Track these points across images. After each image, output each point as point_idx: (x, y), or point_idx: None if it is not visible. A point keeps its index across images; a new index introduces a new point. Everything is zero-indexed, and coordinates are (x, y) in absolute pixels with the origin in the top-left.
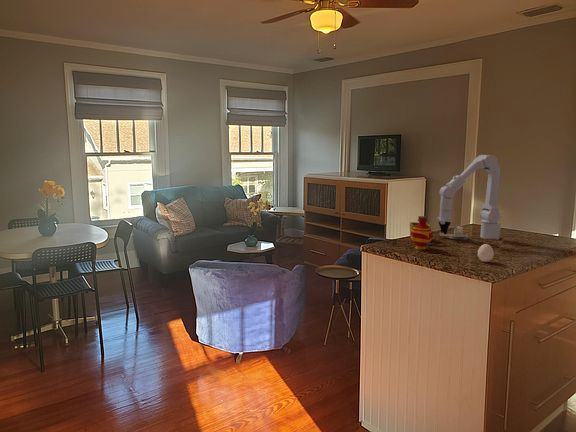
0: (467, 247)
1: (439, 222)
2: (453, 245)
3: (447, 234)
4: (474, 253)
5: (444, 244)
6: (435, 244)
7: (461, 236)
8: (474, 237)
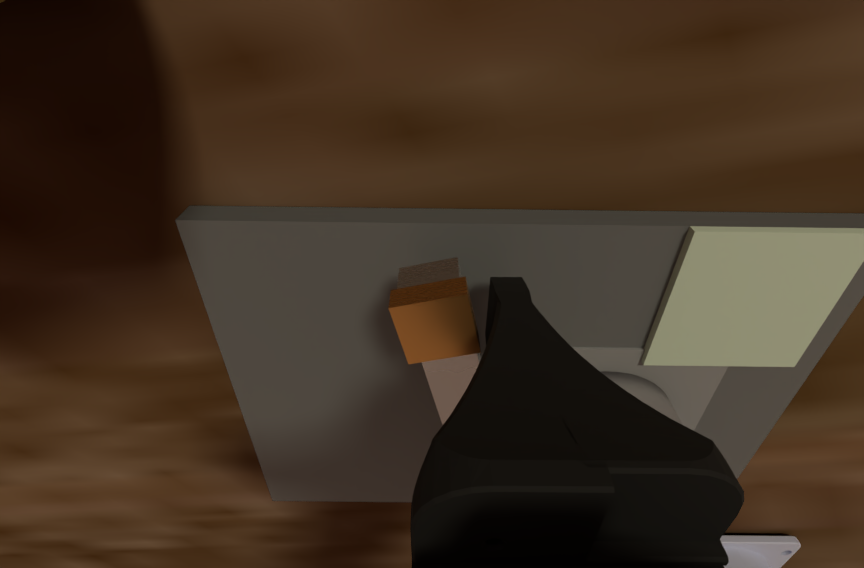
0: (197, 494)
1: (420, 510)
2: (174, 404)
3: (432, 389)
4: (8, 537)
5: (134, 323)
6: (4, 223)
7: None
8: (767, 503)
